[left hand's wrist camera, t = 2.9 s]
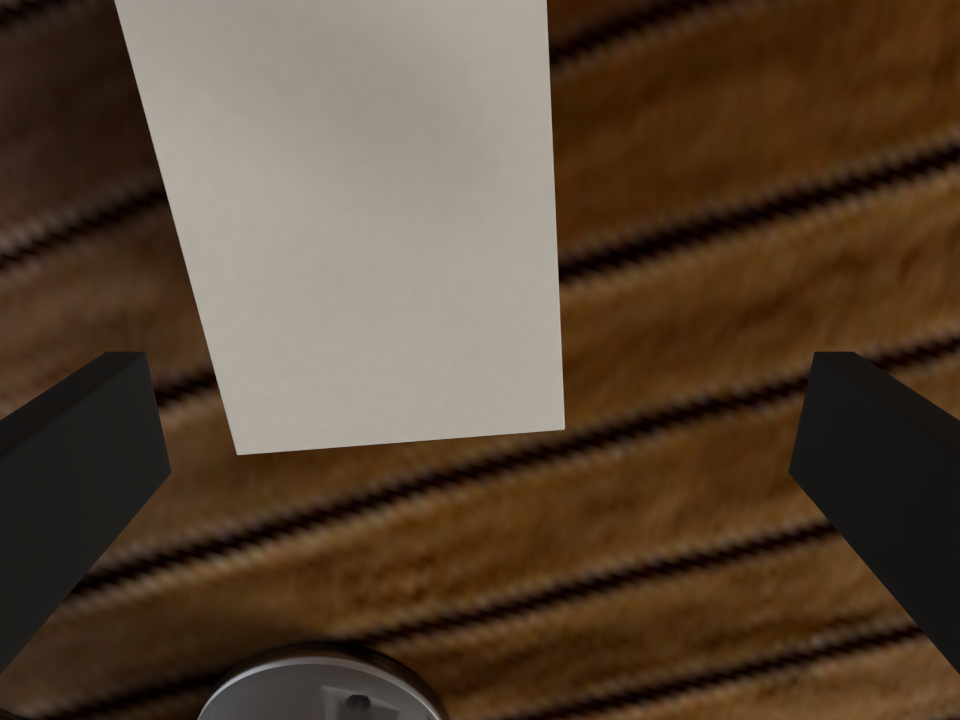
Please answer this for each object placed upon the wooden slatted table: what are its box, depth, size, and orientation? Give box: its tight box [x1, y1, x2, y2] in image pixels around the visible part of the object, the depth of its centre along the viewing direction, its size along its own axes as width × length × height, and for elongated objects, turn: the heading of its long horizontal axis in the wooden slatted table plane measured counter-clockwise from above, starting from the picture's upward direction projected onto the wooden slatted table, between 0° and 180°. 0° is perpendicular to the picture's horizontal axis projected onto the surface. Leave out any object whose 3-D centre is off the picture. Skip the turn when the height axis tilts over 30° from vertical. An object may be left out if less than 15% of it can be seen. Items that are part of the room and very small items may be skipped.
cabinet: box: [115, 0, 565, 455], centre depth 21 cm, size 20×11×9 cm, turn 5°
